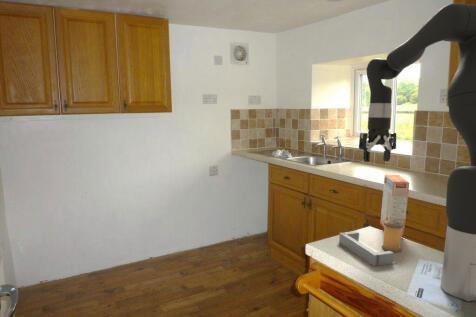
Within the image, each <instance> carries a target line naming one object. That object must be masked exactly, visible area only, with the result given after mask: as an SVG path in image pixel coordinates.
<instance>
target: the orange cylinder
mask: <svg viewBox="0 0 476 317" xmlns="http://www.w3.org/2000/svg"><path fill="white" fill-rule="evenodd" d="M384 225H385V228H383V230H384V231H383V241H382V242H383V243H382V245H381V249H382V250H383V252H384V251H391V252H393V253H394V254H399V253H401V251H402V248H401V230H402V227H403V224H402V223H400V222H396V221H384Z"/></svg>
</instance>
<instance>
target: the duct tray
mask: <svg viewBox="0 0 476 317" xmlns="http://www.w3.org/2000/svg"><path fill="white" fill-rule="evenodd" d="M338 243H339V244H341V245H342V246H344V247H345V248H346V249H348V250H350V251H351V252H352V253H354V254H355V255H357V256H358V257H360V258H361V259H363V260H364V261H365V262H367V263H369V264H370V265H371V266H372V267H380V266H385V265H394V264H397V262H396V261H395V260H394V254H395V253H393V252H391V251H384V250H383V251H378V250H377V249H374V248H373V247H371V246H370V245H368V244H367V243H365V242H363V241H362V240H360V232H359V231H355V230H354V231H346V232H339V237H338Z"/></svg>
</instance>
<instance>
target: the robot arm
mask: <svg viewBox="0 0 476 317" xmlns="http://www.w3.org/2000/svg"><path fill="white" fill-rule="evenodd" d="M444 41H445V42H453V43H454V42H455V43H457V45H458V50H459V64H458V67H457V69H456V72H455V73H454V76H453V78H452V79H451V82H450V84H449V87H448V88H447V106H448V113H449V114H448V115H449V118H450V120H451V122H452V124H453V126H454V128H455V129H456V131H457V132H458V133H459V135H460V136H461V138H462V140H463V141H464V143H465V145H466V147H467V149H468V153H469V159H470V165H467V166H464V165H463V166H459V167H456V168H454V169H453V170H452V171H451V173H450V174H449V176H448V180H447V185H446V199H445V213H446V217H447V224H446V225H447V226H446V234H445V242H444V251H443V259H442V268H441V276H440V288H441V289H442V291H444V292H445V293H446V294H448V295H450V296H453V297H455V298H458V299H461V300H464V301H466V302H473V301H476V5H475V4H468V3H467V4H466V3H455V2H454V3H449V4H446V5H444V6H443V7H441V8H440V9H439V10H438V11H436V13H434V14H433V15H432V16H431V17H430V18H429V19H428V20H427V21H426V22H425V23H424V24H423V25H422V26H421V27H420V28H419V29H418V30H417V31H416V32H415V33H414V34H413V35H412V36H411V37H410V38H408V39H407V40H406V41H404V42H403V43H402V44H400V45H398V46H397V47H395V48H394V49H392V50H391V51H390V52H389V53H388V54H387V56H386V58H372V59H371V60H370V61H369V62H368V64H367V66H366V77H367V81H368V87H369V91H370V97H369V107H368V116H367V130H368V132H360V134H359V140H358V141H359V143H358V149H359V150H361V151H362V152H363V154H362V156H363V157H362V160H363V162H366V163H369V162H370V160H371V159H370V158H371V150H372V148H374V147H375V146H379V145H380V146H382V148H383V149H384V150H383V161H384V162H389V161H390V160H391V152H392V150H396V149H397V132H390V130H391V125H392V124H391V121H392V99H393V96H392V95H393V90H392V88H391V87H390V86H387V85H385V84H383V80H387V81H388V80H392V79H395V78H397V77H398V76H399V74H401V73H402V71H403V70H404V69H406V68H408V67H409V66H411V65H413V64H414V63H416V62H418V61H419V60H420V59H421V58H422V57H423V55H424V53H425V51H426V49H427V48H428V47H429V46H432V45H434V44H436V43H439V42H444Z"/></svg>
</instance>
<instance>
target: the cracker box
mask: <svg viewBox="0 0 476 317" xmlns="http://www.w3.org/2000/svg"><path fill="white" fill-rule="evenodd" d="M409 189H410V182H409V181H407V180H406V178H404V177H402V176H401V175H398V174H384V180H383V192H382V201H381V203H382V204H381V212H380V223H379V224H380V225H381V227H382V228H383V229H384V228H385V225H384V221H396V222H400V223H402V224H403V227H402V230H401V237H402V238H403V237H404V235H405V234H404V233H405V225H406V216H407V206H408V197H409Z"/></svg>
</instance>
